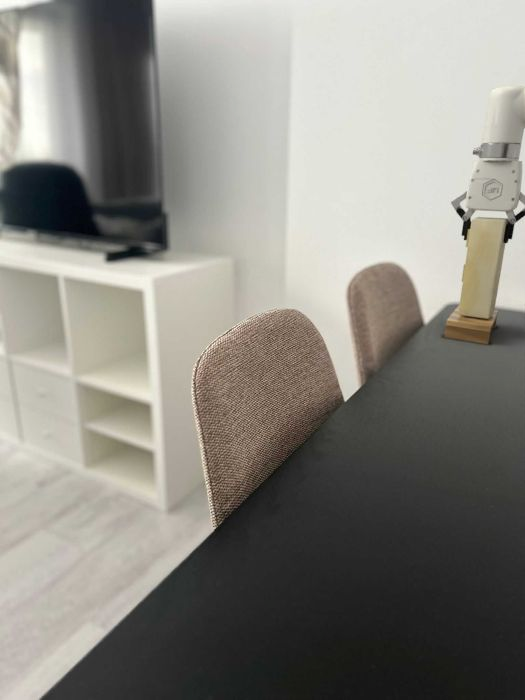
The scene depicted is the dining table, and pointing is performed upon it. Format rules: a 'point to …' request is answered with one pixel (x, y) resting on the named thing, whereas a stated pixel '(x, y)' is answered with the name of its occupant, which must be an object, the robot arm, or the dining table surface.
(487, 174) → the robot arm
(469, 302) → the toy refrigerator
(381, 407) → the dining table surface
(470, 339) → the oak shelf
